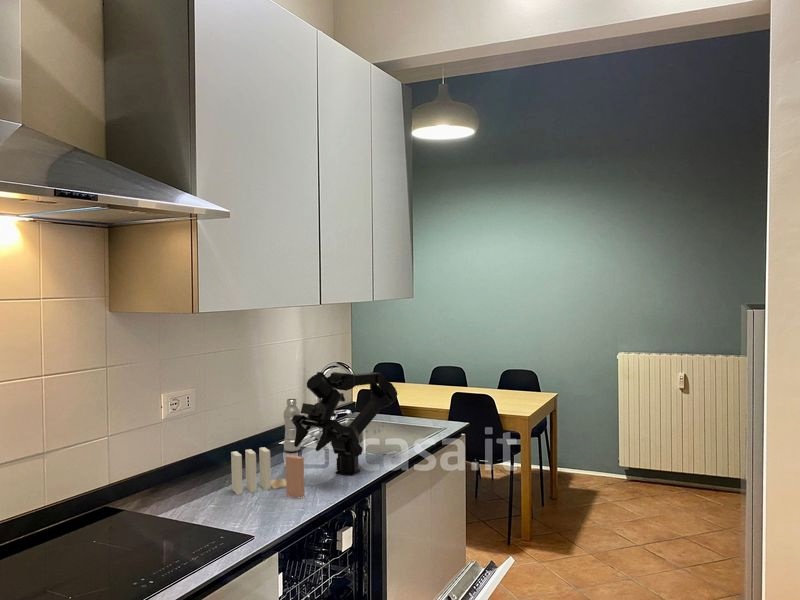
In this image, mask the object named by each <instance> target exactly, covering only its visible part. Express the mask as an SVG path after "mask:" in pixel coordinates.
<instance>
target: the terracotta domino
mask: <svg viewBox="0 0 800 600" xmlns="http://www.w3.org/2000/svg"><path fill="white" fill-rule="evenodd" d="M304 461H305V459H304V457H303V456H297V455H291V454H290V455H289V454H288V455H286V456H285V480H286V487H285V489H286V491H285V493H286V495H289V496H288V497H291V496H294V497H293V498H296V497H300V498H299V499H302V498H301V497H303V496H304V497H305V463H304ZM304 497H303V498H304Z"/></svg>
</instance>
